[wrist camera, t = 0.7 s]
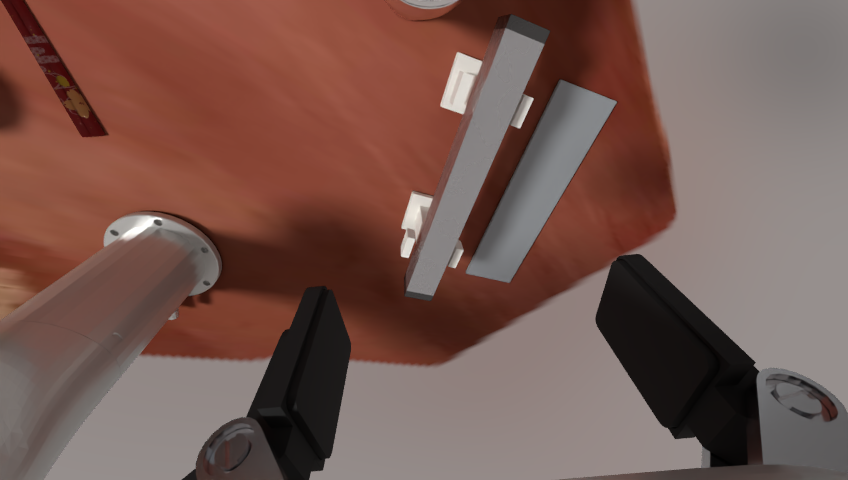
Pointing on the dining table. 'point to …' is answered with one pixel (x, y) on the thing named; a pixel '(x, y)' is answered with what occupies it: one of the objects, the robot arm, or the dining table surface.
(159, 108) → the dining table surface
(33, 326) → the robot arm
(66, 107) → the chopstick
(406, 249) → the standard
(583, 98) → the mat
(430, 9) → the silver metal cup
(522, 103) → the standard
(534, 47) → the steel rail
